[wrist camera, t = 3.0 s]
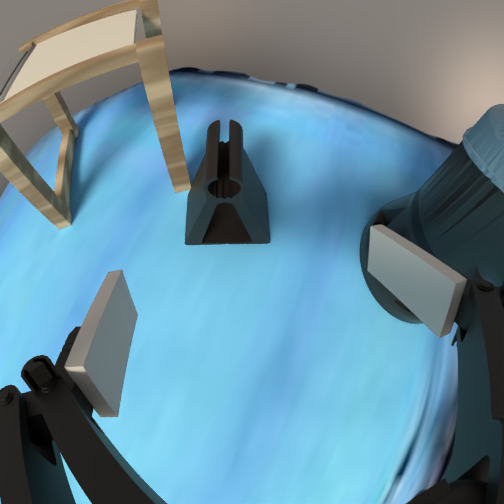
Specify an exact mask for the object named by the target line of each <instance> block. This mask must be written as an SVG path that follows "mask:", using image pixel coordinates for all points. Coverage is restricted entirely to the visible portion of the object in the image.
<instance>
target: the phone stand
mask: <svg viewBox="0 0 504 504" xmlns="http://www.w3.org/2000/svg"><path fill="white" fill-rule="evenodd" d="M219 140H220V121H219V120H217V121H215V122H213V123H212V124H210V126H209V127H208V130H207V143H206V153H205V156H204V158H203V160H202V163H201V165H200V167H199V170H198V172H197V174H196V177H195V179H194V182H193V184H192V186H191V189H190V191H189V194H188V201H187V214H186V230H185V244H186V245H213V244H267V243H270V237H269V224H268V210H267V197H266V192H265V190H264V188H263V186H262V184H261V182H260V180H259V178H258V176H257V174H256V172H255V170H254V168H253V166H252V164H251V162H250V160H249V158H248V156H247V154H246V152H245V150H244V148H243V129H242V127H241V125H240V124H239V123H237V122H236V121H234V120H230V122H229V141H228V142H226V143H224V142H223V141H222V142H219Z"/></svg>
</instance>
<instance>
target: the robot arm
mask: <svg viewBox="0 0 504 504" xmlns="http://www.w3.org/2000/svg"><path fill="white" fill-rule="evenodd" d="M360 261H361V267H362V272H363V275H364V278H365V281H366V283H367V285H368V288H369V290H370V291H371V293H372V295H373V296H374V298H375V299H376V300H377V302H378V303H379V304H380V305H381V306H382V307H383V308H384V309H385V310H386V311H387V312H388V313H389V314H391V315H392V316H394V317H395V318H397V319H399V320H401V321H404V322H407V323H413V324H422V323H424V324H425V325H426V326H427V327H428V328H429V329H430V330H431V331H432V332H433V333H434V334H435V335H436V336H437V337H438V338H441V337H443V336H445V335H447V334H449V333H450V332H451V329H452V326H453V323H454V322H455V323H456V324H458V328H457V331H456V334H455V336H454V339H453V341H452V345H451V346H454V343H455V342H456V341H457V350H458V411H457V425H456V435H455V444H454V452H453V458H452V462H451V465H450V467H449V469H448V470H447V472H446V474H445V477H444V479H443V480H442V481H440V482H439V483H437V484H435V485H434V486H432V487H431V488H429V489H428V490H426V491H424V492H423V493H421V494H419V495H418V496H416V497H414V498H413V499H412V500H410V501H409V502H407V503H406V504H504V104H498V105H495V106H493V107H491V108H490V109H489V110H487V112H486V113H485V114H484V115H483V116H482V117H481V118H480V120H479V121H478V122H477V123H476V124H475V125H474V126H473V127H471V128H469V129H467V130H466V132H465V133H464V135H463V140H462V142H461V143H460V144H459V145H458V146H457V148H456V149H455V150H454V151H453V152H452V153H451V155H450V156H449V157H448V158H447V159H446V160H445V161H444V163H443V164H442V165H441V166H440V167H439V168H438V169H437V170H436V171H435V173H434V174H433V175H432V176H431V177H430V178H429V179H428V180H427V181H426V182H425V183H424V185H423V186H422V187H421V188H420V189H419V190H418V191H417V192H414V193H412V194H409V195H407V196H404V197H402V198H399V199H397V200H394V201H391V202H389V203H387V204H386V205H384V206H383V207H382V208H381V209H379V210H378V211H377V213H376V214H375V215H374V216H373V217H372V218H371V220H370V221H369V222H368V224H367V225H366V227H365V229H364V232H363V234H362V238H361V244H360ZM137 316H138V314H137V311H136V309H135V306H134V303H133V301H132V298H131V295H130V292H129V289H128V286H127V283H126V280H125V277H124V274H123V271H122V270H117V271H111V272H108V274H107V276H106V278H105V279H104V281H103V283H102V285H101V287H100V289H99V291H98V293H97V295H96V297H95V299H94V301H93V303H92V305H91V307H90V309H89V311H88V313H87V315H86V318H85V320H84V322H83V324H82V326H81V327H75V328H74V330H73V331H72V332H71V333H70V334H69V335H68V337H67V339H66V341H65V345H64V346H63V348H62V352H60V355H59V357H58V359H57V362H56V364H55V366H54V365H53V363H52V361H51V360H50V359H49V358H48V356H44V355H40V356H36V357H34V358H32V359H30V360H29V361H28V362H27V363H26V364H25V365H24V367H23V369H22V371H21V377H22V379H23V380H24V381H25V383H26V384H27V385H28V387H29V388H30V389H31V390H32V391H29V392H26V393H22V394H21V392H20V391H19V390H18V389H17V388H16V386H14V385H8V386H5V387H4V388H2V389H1V390H0V499H1V504H76V503H75V500H74V497H73V494H72V492H71V489H70V486H69V482H68V479H67V476H66V473H65V469H64V466H63V462H62V458H61V454H62V456H63V458H64V460H65V462H66V463H67V465H68V467H69V469H70V470H71V472H72V474H73V475H74V477H75V479H76V480H77V482H78V483H79V485H80V486H81V488H82V490H83V491H84V493H85V494H86V496H87V497H88V498H89V500H90V501H91V503H92V504H167V503H166V502H165V501H164V500H163V499H162V498H161V497H160V496H159V495H158V494H157V493H156V492H155V491H154V490H153V489H152V488H151V487H150V486H149V485H148V484H147V483H146V482H145V481H144V480H143V479H142V478H141V477H140V476H139V475H138V474H137V473H136V471H135V470H134V469H133V468H132V467H131V466H130V465H129V463H128V462H127V461H126V460H125V459H124V458H123V456H122V455H121V454H120V453H119V451H118V450H117V449H116V448H115V446H114V445H113V444H112V443H111V441H110V440H109V439H108V437H107V436H106V435H105V433H104V432H103V431H102V429H101V428H100V427H99V425H98V424H97V422H96V421H95V420H94V419H93V417H92V413H93V408H94V409H95V411H96V412H97V413H98V414H99V416H100V417H118V414H119V407H120V400H121V394H122V388H123V383H124V377H125V372H126V367H127V361H128V357H129V352H130V347H131V342H132V338H133V333H134V329H135V325H136V320H137ZM60 452H61V454H60ZM487 481H488V483H487Z"/></svg>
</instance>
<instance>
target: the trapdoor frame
mask: <svg viewBox="0 0 504 504" xmlns="http://www.w3.org/2000/svg"><path fill="white" fill-rule="evenodd" d="M139 7H141V12H142V18H143V24H144V29H145V35H146V39H143V40H139V41H137V42H136V43H135V44H131V45H128V46H125V47H121V48H118V49H115V50H112V51H109V52H106V53H103V54H100V55H98V56H95V57H92V58H90V59H87V60H84V61H82V62H79V63H77V64H75V65H72V66H70V67H68V68H65V69H63V70H61V71H59V72H57V73H54V74H52V75H50V76H48V77H46V78H44V79H42V80H40V81H38V82H36V83H34V84H33V85H31V86H29V87H27V88H25V89H24V90H22V91H20V92H18V93H17V94H15V95H13V96H12V97H10V98H8V99H7V100H5V101H4V102H2V103H0V123H1V122H2V121H4V120H5V119H7V118H9V117H10V116H12V115H14V114H15V113H17V112H19V111H21V110H23V109H24V108H26V107H28V106H30V105H32V104H34V103H36V102H38V101H39V100H41V99H43V100H44V102H45V104H46V106H47V108H48V110H49V111H50V113H51V115H52V117H53V118H54V120H55V122H56V124H57V126H58V127H59V129H60V131H61V132H62V134H63V136H62V141H61V147H60V152H59V159H58V165H57V173H56V181H55V190H54V191H53V190H52V189H51V188H50V187H49V186H48V184H47V183H46V182H45V181H44V180H43V178H42V177H41V176H40V175H39V174H38V172H37V171H36V170H35V169H34V168H33V166H32V165H31V164H30V163H29V161H28V160H27V159H26V158H25V156H24V155H23V154H22V153H21V151H20V150H19V149H18V147H17V146H16V145H15V143H14V142H13V141H12V139H11V138H10V137H9V135H8V134H7V132H6V131H5V130H4V128H3V127H2V125H1V124H0V171H1V173H2V174H3V175H4V176H5V177H6V178H7V179H8V180H9V181H10V182H11V183H12V184H13V185H14V186H15V188H16V189H17V190H18V191H19V192H20V193H21V194H22V195H23V196H24V197H25V198H26V199H27V200H28V201H29V202H30V203H31V204H32V205H33V206H34V207H36V208H37V209H38V210H39V211H40V212H41V213H42V214H43V215H44V216H45V217H46V218H47V219H48V220H49V221H50V222H51V223H53V224H54V225H55V226H56V227H57V228H58V229H62V228H64V227H67V226H70V225H71V219H72V211H71V210H70V209H69V203H70V185H71V173H72V163H73V154H74V146H75V139H76V138H78V132H79V128H78V127H77V125H76V123H75V121H74V119H73V117H72V115H71V113H70V111H69V109H68V107H67V105H66V103H65V101H64V99H63V97H62V95H61V93H60V90H62V89H64V88H67V87H69V86H72V85H74V84H76V83H79V82H81V81H84V80H86V79H89V78H92V77H94V76H97V75H100V74H102V73H105V72H108V71H111V70H114V69H117V68H120V67H124V66H127V65H130V64H133V63H137V62H139V65H140V70H141V74H142V78H143V82H144V86H145V90H146V94H147V98H148V102H149V105H150V109H151V113H152V117H153V120H154V124H155V127H156V131H157V135H158V138H159V142H160V145H161V148H162V152H163V155H164V159H165V162H166V165H167V168H168V172H169V175H170V178H171V181H172V185H173V188H174V191H175V193H178V192H182V191H186V190H190V189H191V184H190V179H189V175H188V170H187V165H186V161H185V156H184V151H183V146H182V141H181V136H180V131H179V126H178V121H177V116H176V110H175V105H174V99H173V94H172V88H171V82H170V77H169V71H168V65H167V58H166V52H165V46H164V39H163V35H162V31H161V24H160V17H159V9H158V1H157V0H127V1H124V2H120V3H117V4H114V5H111V6H108V7H105V8H102V9H99V10H96V11H93V12H91V13H88V14H85V15H83V16H80V17H78V18H75V19H73V20H71V21H68V22H66V23H64V24H62V25H60V26H57V27H55V28H53V29H51V30H49V31H47V32H45V33H43V34H41V35H39V36H38V37H34V38H32V39H31V40H29V41H27V42H25V43H24V44H23V45H22V46H21V47H20V49H19V52H20V54H21V53H22V52H24V51H26V50H27V51H29V49H30V48H31V47H32V46H33V45H36V44H38V43H40V42H43V41H45V40H47V39H49V38H51V37H54V36H56V35H59V34H61V33H63V32H66V31H68V30H71V29H74V28H76V27H79V26H82V25H85V24H88V23H91V22H94V21H97V20H100V19H103V18H106V17H109V16H112V15H115V14H118V13H121V12H125V11H128V10H132V9H135V8H139Z"/></svg>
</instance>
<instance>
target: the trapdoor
mask: <svg viewBox="0 0 504 504" xmlns="http://www.w3.org/2000/svg"><path fill="white" fill-rule="evenodd" d="M136 25H137V10H133V11H129V12H125V13H121V14H117V15H114V16H110V17H107V18H103V19H100V20H97V21H94V22H91V23H88V24H85V25H82V26H79V27H76V28H74V29H71V30H68V31H66V32H63V33H61V34H59V35H56V36H54V37H51V38H49V39H47V40H45V41H43V42H40V43H38V44H36V45H33V46H32V47H31V48H30V49H29V51H27V50H26V51H24V52H22V53H21V54H19V55H17V56H15V57H13V58H12V59H11V60H10V61H9V62H8V64H7V65H6V67H5V68H4V70H3V71H2V73H1V74H0V103H2V102H4V101H5V100H7V99H8V98H10V97H12V96H13V95H15V94H17V93H18V92H20V91H22V90H24V89H25V88H27V87H29V86H31V85H33V84H34V83H36V82H38V81H40V80H42V79H44V78H46V77H48V76H50V75H52V74H54V73H57V72H59V71H61V70H63V69H65V68H68V67H70V66H72V65H75V64H77V63H79V62H82V61H84V60H87V59H90V58H92V57H95V56H98V55H100V54H103V53H106V52H109V51H112V50H115V49H118V48H121V47H125V46H128V45H131V44H135V42H136Z"/></svg>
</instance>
